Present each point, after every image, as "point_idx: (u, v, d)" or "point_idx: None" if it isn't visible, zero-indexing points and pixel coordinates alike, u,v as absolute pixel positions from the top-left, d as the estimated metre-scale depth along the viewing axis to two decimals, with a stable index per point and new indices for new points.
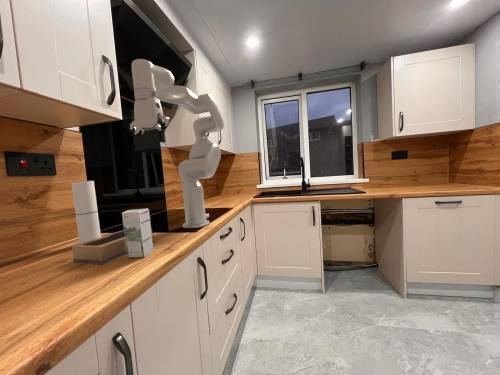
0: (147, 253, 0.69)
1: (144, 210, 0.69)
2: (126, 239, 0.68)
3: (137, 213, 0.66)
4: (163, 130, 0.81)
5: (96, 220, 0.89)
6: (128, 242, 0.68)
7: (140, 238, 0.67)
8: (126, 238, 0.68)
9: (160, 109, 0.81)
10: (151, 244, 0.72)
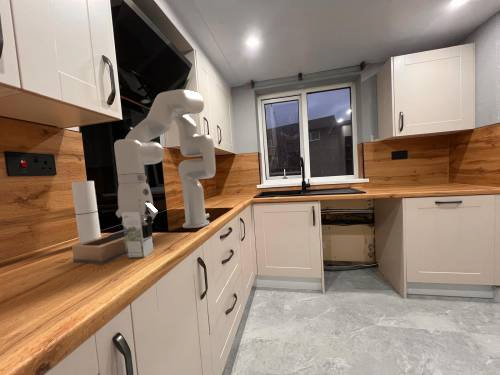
0: (147, 253, 0.69)
1: None
2: (126, 239, 0.68)
3: (137, 213, 0.66)
4: (149, 224, 0.68)
5: (96, 220, 0.89)
6: (128, 242, 0.68)
7: (140, 238, 0.67)
8: (126, 238, 0.68)
9: (149, 195, 0.69)
10: (151, 244, 0.72)
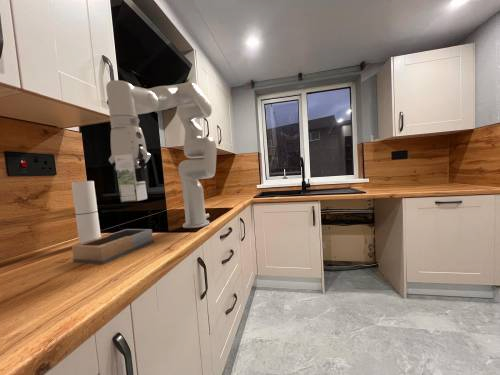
0: (140, 198, 0.69)
1: None
2: (119, 182, 0.67)
3: (130, 155, 0.66)
4: (142, 168, 0.68)
5: (96, 220, 0.89)
6: (121, 185, 0.67)
7: (133, 181, 0.67)
8: (119, 181, 0.67)
9: (142, 139, 0.68)
10: (145, 191, 0.72)
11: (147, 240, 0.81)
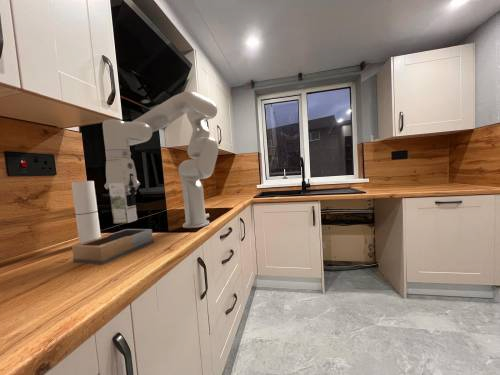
0: (131, 220, 0.79)
1: None
2: (112, 207, 0.78)
3: (122, 184, 0.76)
4: (132, 194, 0.78)
5: (96, 220, 0.89)
6: (114, 209, 0.78)
7: (124, 206, 0.77)
8: (112, 206, 0.77)
9: (132, 169, 0.79)
10: (135, 213, 0.82)
11: (147, 240, 0.81)
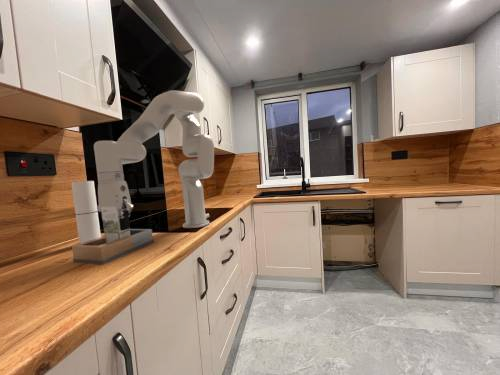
0: None
1: None
2: (105, 231, 0.74)
3: (114, 207, 0.73)
4: (126, 217, 0.75)
5: (96, 220, 0.89)
6: (107, 234, 0.74)
7: (117, 230, 0.74)
8: (105, 230, 0.74)
9: (126, 191, 0.75)
10: None
11: (147, 240, 0.81)
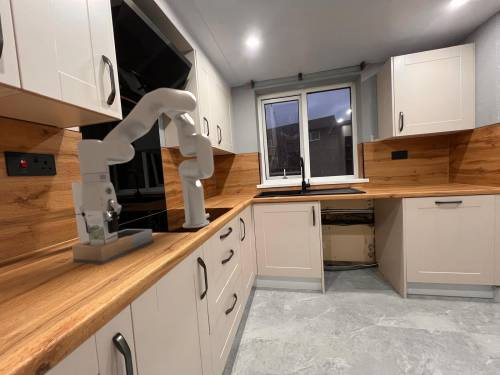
0: None
1: None
2: (90, 237, 0.70)
3: (100, 212, 0.68)
4: (115, 219, 0.70)
5: None
6: (92, 240, 0.70)
7: (103, 236, 0.69)
8: (90, 236, 0.70)
9: (112, 194, 0.71)
10: None
11: (147, 240, 0.81)
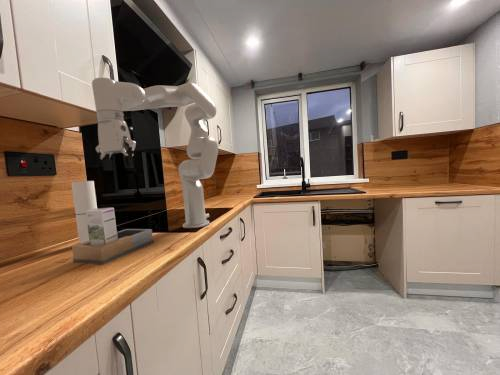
0: None
1: (108, 209, 0.71)
2: (90, 237, 0.70)
3: (100, 212, 0.68)
4: (130, 155, 0.74)
5: None
6: (92, 240, 0.70)
7: (103, 236, 0.69)
8: (90, 236, 0.70)
9: (126, 132, 0.74)
10: None
11: (147, 240, 0.81)
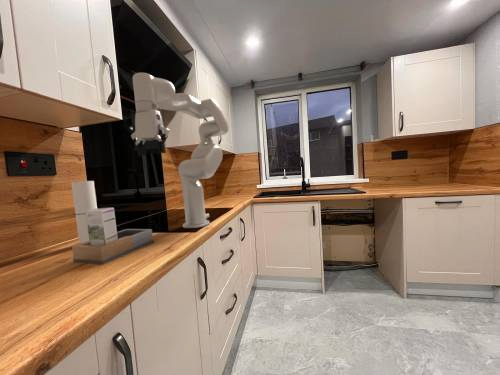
0: None
1: (108, 209, 0.71)
2: (90, 237, 0.70)
3: (100, 212, 0.68)
4: (163, 141, 0.83)
5: None
6: (92, 240, 0.70)
7: (103, 236, 0.69)
8: (90, 236, 0.70)
9: (160, 120, 0.84)
10: None
11: (147, 240, 0.81)
